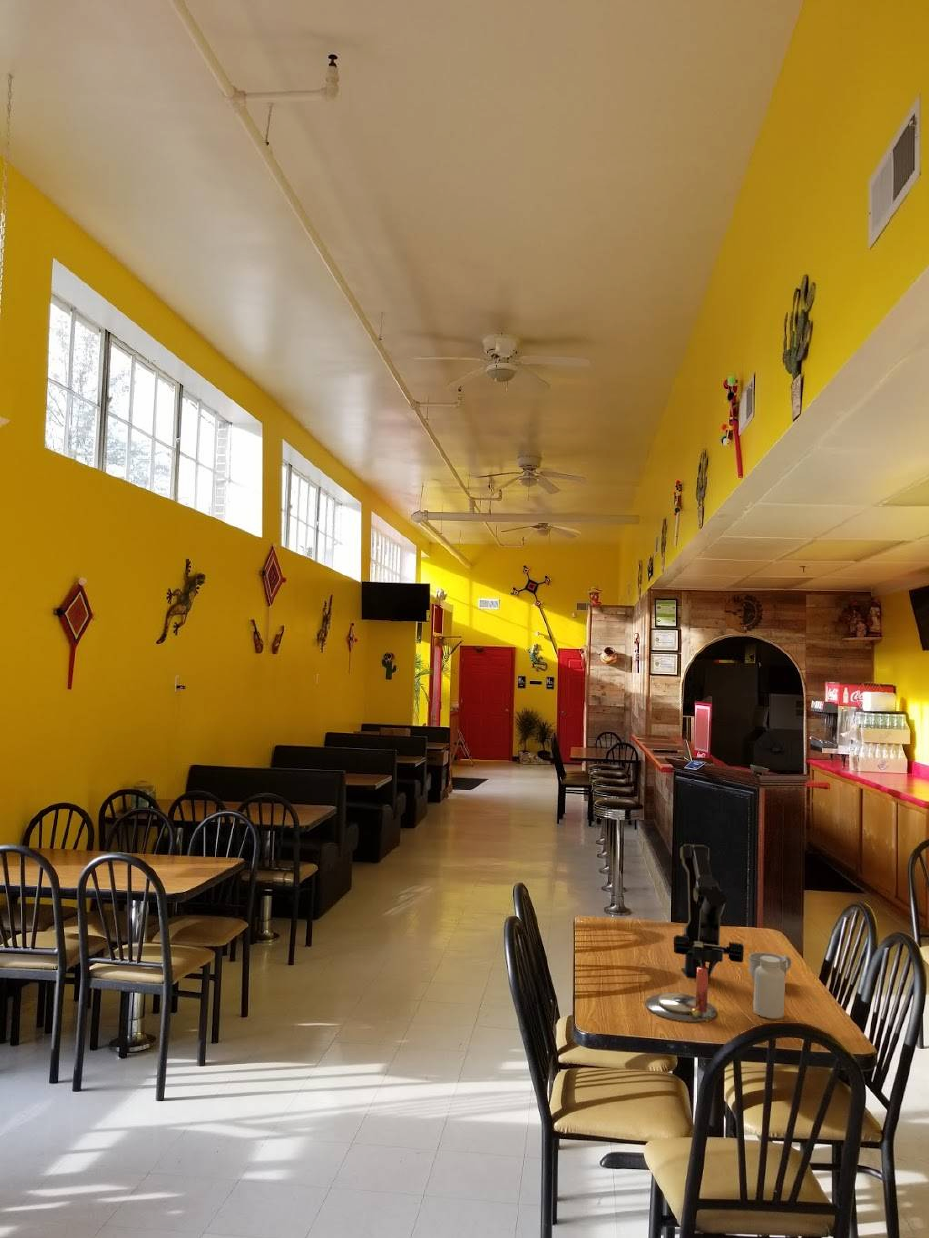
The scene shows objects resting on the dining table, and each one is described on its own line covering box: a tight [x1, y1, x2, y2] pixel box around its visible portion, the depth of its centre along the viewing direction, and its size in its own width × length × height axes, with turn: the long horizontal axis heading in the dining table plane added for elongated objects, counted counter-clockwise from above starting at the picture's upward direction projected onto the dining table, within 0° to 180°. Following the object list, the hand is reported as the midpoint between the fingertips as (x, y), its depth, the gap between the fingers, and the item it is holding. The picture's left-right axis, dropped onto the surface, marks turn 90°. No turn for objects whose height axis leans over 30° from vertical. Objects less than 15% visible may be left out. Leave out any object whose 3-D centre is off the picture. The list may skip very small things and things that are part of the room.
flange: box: [658, 966, 712, 1018], centre depth 248 cm, size 15×12×12 cm
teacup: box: [748, 952, 792, 981], centre depth 274 cm, size 14×11×8 cm
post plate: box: [645, 993, 717, 1023], centre depth 249 cm, size 19×19×3 cm
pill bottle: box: [752, 956, 786, 1020], centre depth 248 cm, size 8×8×15 cm
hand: (706, 977), depth 245 cm, fingers closed
